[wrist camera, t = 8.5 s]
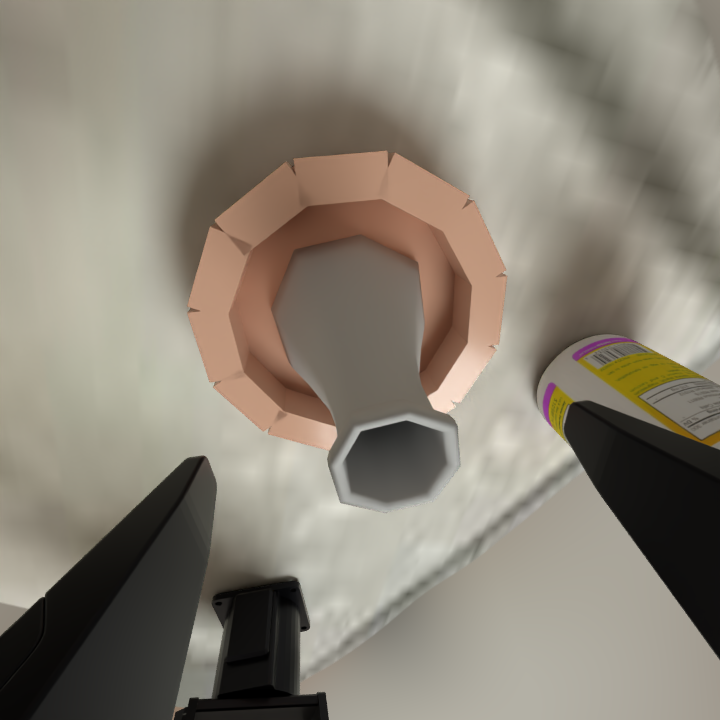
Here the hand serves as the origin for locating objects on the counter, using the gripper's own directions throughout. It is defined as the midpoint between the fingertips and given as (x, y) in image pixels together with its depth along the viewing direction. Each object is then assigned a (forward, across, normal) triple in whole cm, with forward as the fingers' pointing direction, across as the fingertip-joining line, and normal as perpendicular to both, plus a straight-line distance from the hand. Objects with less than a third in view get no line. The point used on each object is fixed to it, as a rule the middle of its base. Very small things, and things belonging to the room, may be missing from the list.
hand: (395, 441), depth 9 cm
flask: (+10, 0, 0) cm, 10 cm away
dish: (+10, 0, 0) cm, 10 cm away
